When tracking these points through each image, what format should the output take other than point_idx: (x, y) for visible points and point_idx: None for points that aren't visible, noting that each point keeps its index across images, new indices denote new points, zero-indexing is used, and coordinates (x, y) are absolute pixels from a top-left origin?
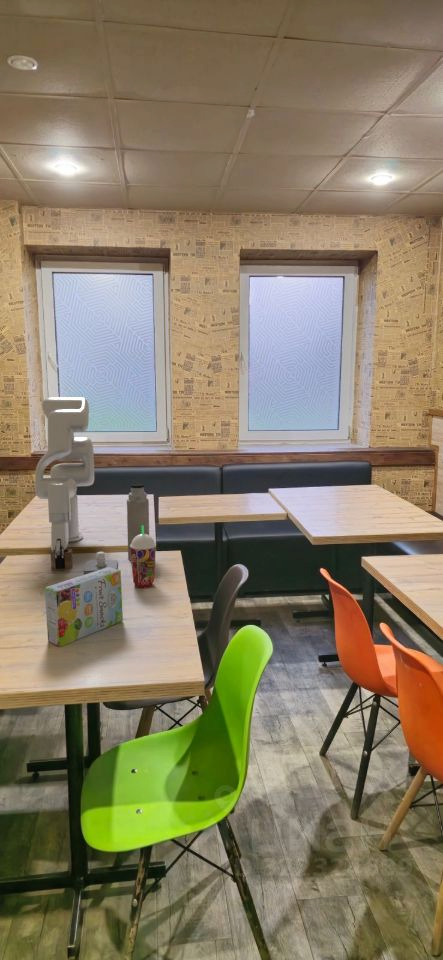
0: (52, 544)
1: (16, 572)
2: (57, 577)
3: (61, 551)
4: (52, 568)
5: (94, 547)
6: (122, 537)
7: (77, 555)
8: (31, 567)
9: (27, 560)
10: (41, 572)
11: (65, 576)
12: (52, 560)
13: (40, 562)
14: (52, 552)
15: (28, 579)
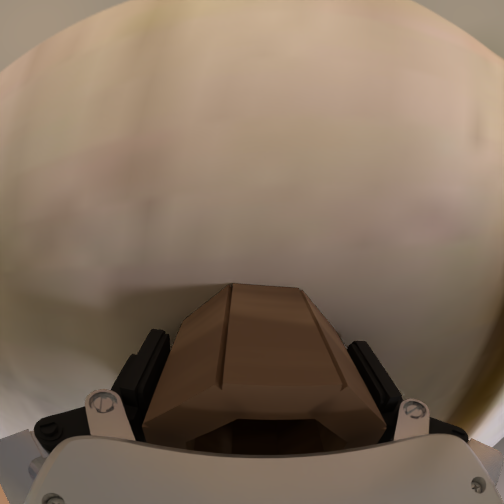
0: (26, 500)
1: (193, 19)
2: (55, 321)
3: (334, 433)
4: (217, 294)
5: (485, 409)
6: (498, 435)
7: (445, 387)
8: (307, 108)
9: (463, 101)
10: (146, 207)
11: (75, 361)
12: (205, 335)
13: (419, 184)
14: (208, 401)
15: (31, 144)
